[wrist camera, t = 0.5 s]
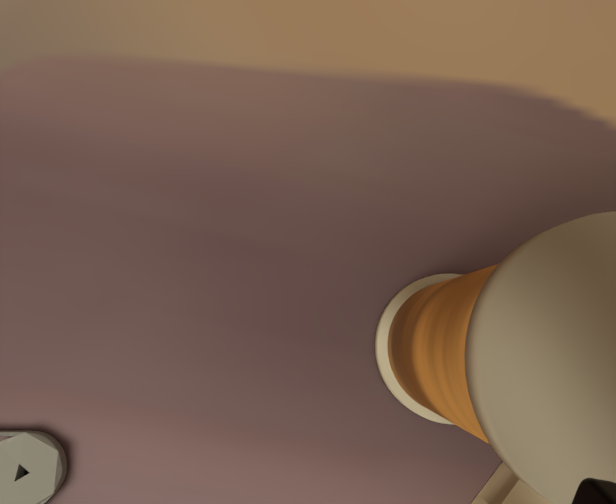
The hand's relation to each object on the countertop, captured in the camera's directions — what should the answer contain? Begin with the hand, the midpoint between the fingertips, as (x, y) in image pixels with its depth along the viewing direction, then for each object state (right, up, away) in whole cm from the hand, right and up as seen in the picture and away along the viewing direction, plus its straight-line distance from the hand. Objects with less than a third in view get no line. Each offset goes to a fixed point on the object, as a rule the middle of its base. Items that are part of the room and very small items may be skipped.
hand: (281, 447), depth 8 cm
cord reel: (+7, -1, +15) cm, 17 cm away
